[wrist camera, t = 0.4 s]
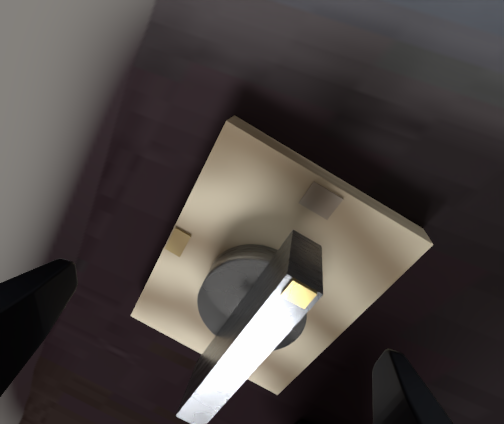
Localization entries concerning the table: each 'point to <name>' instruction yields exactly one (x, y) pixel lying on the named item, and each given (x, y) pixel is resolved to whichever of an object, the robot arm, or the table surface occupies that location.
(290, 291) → the silver dome with handle
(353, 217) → the base plate
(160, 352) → the table surface
